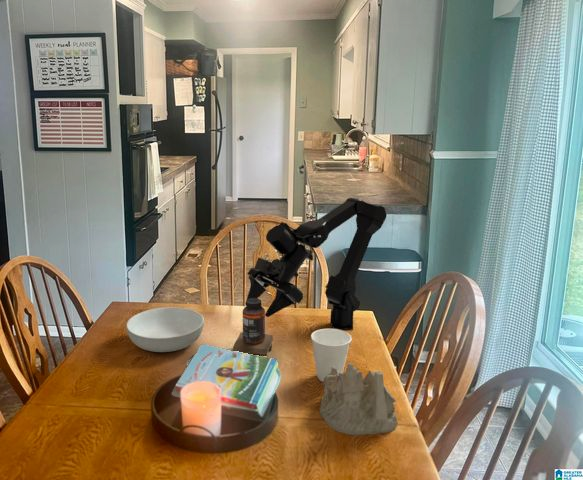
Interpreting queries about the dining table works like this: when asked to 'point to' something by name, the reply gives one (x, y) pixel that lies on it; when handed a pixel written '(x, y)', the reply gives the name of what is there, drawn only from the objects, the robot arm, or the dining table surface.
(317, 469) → the dining table surface
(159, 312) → the serving bowl
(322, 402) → the grey castle model
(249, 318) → the supplement bottle
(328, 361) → the cup
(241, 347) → the dark brown coaster
